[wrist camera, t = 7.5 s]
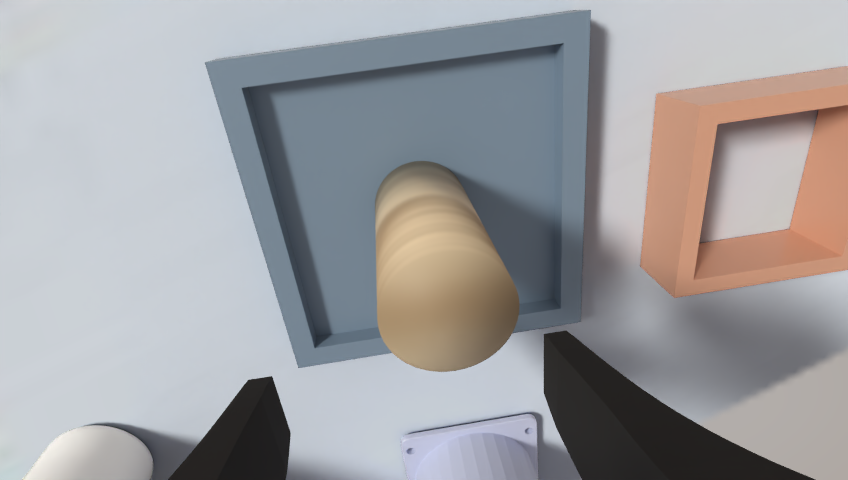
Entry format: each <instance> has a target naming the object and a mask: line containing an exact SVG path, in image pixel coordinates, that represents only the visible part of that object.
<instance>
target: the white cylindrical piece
mask: <svg viewBox="0 0 848 480" xmlns="http://www.w3.org/2000/svg"><path fill="white" fill-rule="evenodd" d="M152 473H153V459H152V456H151V453H150V451H149V450H148V448H147V447H146V445H145V444H144V443H143V442H142V441H141V440H139V439H138V438H137V437H135V436H134V435H132V434H130V433H128V432H126V431H123V430H121V429H118V428H114V427H109V426H100V425H91V426H82V427H78V428H74V429H71V430H69V431H67V432H65V433H63V434H61V435H60V436H58V437H57V438H55V439H54V440H53V441H52V442H51V443H50V444H49V445H48V446H47V448H46V449H45V450H44V451H43V453H42V454H41V455H40V457H39V458H38V459H37V461H36V462H35V463H34V465H33V466H32V467H31V469H30V470H29V471H28V473H27V474H26V475H25V476H24V477H23V479H22V480H150V479H151V477H152Z"/></svg>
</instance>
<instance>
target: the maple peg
mask: <svg viewBox="0 0 848 480" xmlns="http://www.w3.org/2000/svg"><path fill="white" fill-rule="evenodd" d="M375 230H376V280H377V321H378V328H379V331H380V335H381V337H382V339H383V341H384V343H385V344H386V346H387V347H388V348H389V349H390V351H391V352H392V353H393V354H394V355H396V356H397V357H398V358H399V359H401V360H402V361H404V362H405V363H407V364H409V365H412V366H414V367H417V368H420V369H424V370H429V371H438V372H447V371H456V370H461V369H465V368H468V367H471V366H474V365H476V364H478V363H480V362H482V361H484V360H486V359H487V358H489V357H490V356H492V355H493V354H495V353H496V352H497V351H498V350H499V349H500V348H501V347H502V346H503V345H504V344H505V343H506V342H507V340H508V339H509V337H510V336H511V334H512V332H513V330H514V328H515V326H516V323H517V320H518V316H519V305H520V303H519V296H518V292H517V289H516V287H515V284H514V282H513V280H512V278H511V277H510V275H509V273H508V271H507V269H506V267H505V265H504V263H503V262H502V260H501V258H500V256H499V254H498V252H497V250H496V248H495V247H494V245H493V243H492V241H491V239H490V237H489V235H488V233H487V232H486V230H485V228H484V226H483V224H482V222H481V220H480V218H479V216H478V215H477V213H476V211H475V209H474V207H473V205H472V203H471V201H470V200H469V198H468V196H467V194H466V192H465V190H464V188H463V186H462V185H461V183H460V181H459V180H458V178H457V177H456V176H455V175H454V173H452V172H451V171H450V170H449V169H447V168H446V167H444V166H442V165H440V164H437V163H434V162H429V161H414V162H409V163H406V164H403V165H401V166H399V167H397V168H396V169H394V170H393V171H392V172H390V173H389V174H388V175H387V176H386V177H385V179H384V180H383V181H382V183H381V184H380V186H379V189H378V191H377V194H376V199H375Z"/></svg>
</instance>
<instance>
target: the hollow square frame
mask: <svg viewBox="0 0 848 480" xmlns="http://www.w3.org/2000/svg"><path fill="white" fill-rule="evenodd" d="M817 109H819V111H818V115H817V119H816V123H815V128H814V132H813V136H812V140H811V144H810V148H809V152H808V156H807V160H806V164H805V168H804V172H803V176H802V180H801V184H800V188H799V192H798V197H797V201H796V205H795V209H794V213H793V217H792V221H791V225H790V229H787V230H781V231H775V232H768V233H762V234H756V235H749V236H743V237H737V238H730V239H724V240H718V241H711V242H705V243H699V241H700V234H701V228H702V221H703V215H704V208H705V202H706V195H707V189H708V182H709V176H710V170H711V163H712V157H713V150H714V144H715V137H716V131H717V124H722V123H729V122H735V121H742V120H749V119H756V118H763V117H769V116H776V115H783V114H790V113H796V112H803V111H810V110H817ZM640 267H641V268H643V269H644V270H645V271H646V272H647V273H648V274H649V275H650V276H651V277H652V278H653V279H654V280H655V281H656V282H657V283H659V284H660V285H661V286H662V287H663V288H664V289H665V290H666V291H667V292H668V293H669V294H670V295H671V296H672V297H674V298H677V297H683V296H689V295H695V294H702V293H708V292H714V291H720V290H726V289H732V288H738V287H745V286H751V285H757V284H763V283H769V282H775V281H781V280H788V279H794V278H800V277H806V276H812V275H818V274H825V273H831V272H837V271H843V270H848V66H845V67H838V68H831V69H824V70H817V71H810V72H803V73H796V74H790V75H783V76H776V77H769V78H762V79H755V80H748V81H741V82H734V83H727V84H720V85H713V86H706V87H699V88H693V89H686V90H679V91H672V92H665V93H658V94H656V105H655V115H654V126H653V136H652V147H651V157H650V168H649V178H648V189H647V199H646V210H645V220H644V231H643V241H642V252H641V262H640Z"/></svg>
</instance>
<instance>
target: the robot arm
mask: <svg viewBox="0 0 848 480" xmlns="http://www.w3.org/2000/svg"><path fill="white" fill-rule="evenodd" d="M544 394H545V397H546V400H547V403H548V406H549V409H550V411H551V414H552V417H553V420H554V422H555V425H556V428H557V430H558V432H559V434H560V436H561V438H562V440H563V442H564V444H565V446H566V448H567V450H568V452H569V454H570V456H571V458H572V460H573V462H574V464H575V466H576V468H577V470H578V472H579V474H580V476H581V478H582V480H815V479H813V478H810V477H808V476H805V475H803V474H800V473H798V472H795V471H793V470H791V469H789V468H786V467H784V466H781V465H779V464H777V463H775V462H772V461H770V460H768V459H766V458H764V457H761V456H759V455H757V454H755V453H753V452H751V451H748V450H747V449H745V448H743V447H740V446H738V445H736V444H734V443H732V442H730V441H728V440H726V439H724V438H722V437H720V436H719V435H717V434H715V433H713V432H711V431H709V430H707V429H705V428H704V427H702V426H700V425H699V424H697V423H695V422H693V421H692V420H690V419H688V418H686V417H685V416H683V415H681V414H679V413H678V412H676V411H675V410H673V409H671V408H670V407H668V406H667V405H665V404H663V403H662V402H660V401H659V400H657V399H656V398H654V397H653V396H651V395H650V394H648V393H647V392H645V391H644V390H642V389H641V388H640V387H638V386H637V385H635V384H634V383H633V382H631V381H630V380H629V379H627V378H626V377H625V376H623V375H622V374H621V373H619V372H618V371H617V370H615V369H614V368H613V367H611V366H610V365H609V364H607V363H606V362H605V361H604V360H602V359H601V358H600V357H599V356H597V355H596V354H595V353H594V352H592V351H591V350H590V349H589V348H587V347H586V346H585V345H584V344H582V343H581V342H580V341H579V340H578V339H576V338H575V337H574V336H573V335H571V334H570V333H569V332H567V331H561V332H555V333H548V334H544ZM527 428H528V429H527ZM289 446H290V430H289V427H288V424H287V421H286V418H285V415H284V412H283V408H282V405H281V402H280V399H279V396H278V393H277V390H276V387H275V384H274V381H273V378H272V376H271V377H264V378H258V379H251V380H248V381H247V382H246V384H245V385H244V386H243V387H242V389H241V390H240V391H239V393H238V394H237V395H236V396H235V398H234V399H233V400H232V402H231V403H230V404H229V406H228V407H227V408H226V410H225V411H224V412H223V413H222V415H221V416H220V417H219V419H218V420H217V421H216V423H215V424H214V425H213V426H212V428H211V429H210V430H209V431H208V433H207V434H206V435H205V436H204V438H203V439H202V440H201V441H200V443H199V444H198V445H197V446H196V448H195V449H194V450H193V451H192V453H191V454H190V455H189V456H188V457H187V458H186V460H185V461H184V462H183V463H182V464H181V465H180V466H179V468H178V469H177V470H176V471H175V472H174V473H173V475H172V476H171V477H170V478H169V479H168V480H286V475H287V467H288V457H289ZM401 448H402V453H403V458H404V463H405V468H406V473H407V478H408V480H538V447H537V421H536V418H535V416H534V415H532V414H524V415H518V416H512V417H506V418H500V419H494V420H488V421H483V422H477V423H471V424H465V425H459V426H453V427H447V428H441V429H436V430H430V431H424V432H418V433H412V434H407V435H405V436H403V437H402V438H401ZM409 448H412V449H409Z"/></svg>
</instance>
